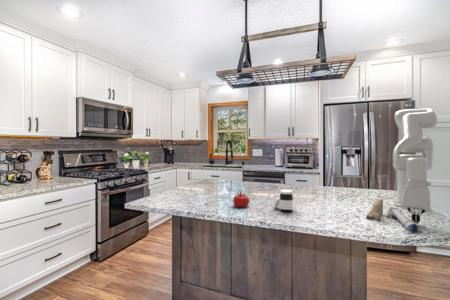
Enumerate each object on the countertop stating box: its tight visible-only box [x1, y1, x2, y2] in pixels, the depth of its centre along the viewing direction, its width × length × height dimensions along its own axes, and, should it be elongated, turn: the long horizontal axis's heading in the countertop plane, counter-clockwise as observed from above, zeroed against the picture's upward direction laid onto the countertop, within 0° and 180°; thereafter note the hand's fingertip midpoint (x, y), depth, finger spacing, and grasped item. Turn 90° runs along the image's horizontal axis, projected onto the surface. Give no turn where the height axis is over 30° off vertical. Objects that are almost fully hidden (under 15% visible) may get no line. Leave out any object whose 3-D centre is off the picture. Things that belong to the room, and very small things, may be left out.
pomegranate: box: [232, 191, 250, 208], centre depth 150 cm, size 10×10×9 cm
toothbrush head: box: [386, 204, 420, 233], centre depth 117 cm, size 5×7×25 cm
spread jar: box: [273, 189, 294, 213], centre depth 141 cm, size 12×11×12 cm
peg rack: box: [365, 198, 384, 221], centre depth 128 cm, size 16×6×8 cm, turn 140°
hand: (415, 222), depth 113 cm, fingers closed
